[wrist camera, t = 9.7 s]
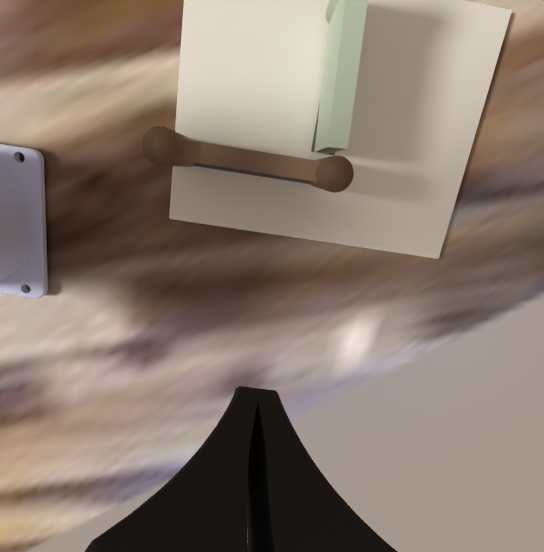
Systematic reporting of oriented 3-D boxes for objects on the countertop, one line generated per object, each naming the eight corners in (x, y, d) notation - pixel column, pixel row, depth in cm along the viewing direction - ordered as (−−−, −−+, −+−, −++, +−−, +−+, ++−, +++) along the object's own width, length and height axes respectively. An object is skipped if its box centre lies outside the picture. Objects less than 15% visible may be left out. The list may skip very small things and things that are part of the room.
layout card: (170, 218, 19) (168, 219, 19) (189, -49, 16) (187, -55, 15) (435, 257, 20) (439, 259, 20) (508, 12, 17) (513, 8, 16)
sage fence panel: (333, 153, 18) (353, 148, 14) (310, 151, 18) (323, 146, 14) (353, -1, 16) (383, -60, 12) (327, -4, 16) (348, -63, 12)
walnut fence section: (172, 164, 18) (141, 162, 14) (174, 135, 18) (143, 123, 13) (329, 189, 18) (349, 195, 14) (334, 161, 18) (357, 158, 14)
